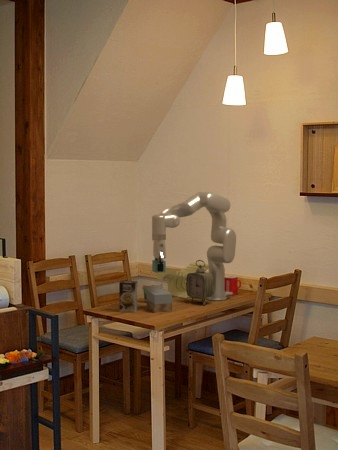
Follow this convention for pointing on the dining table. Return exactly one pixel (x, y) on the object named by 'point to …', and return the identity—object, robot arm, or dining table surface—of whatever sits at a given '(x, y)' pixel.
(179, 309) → the dining table surface
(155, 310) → the base block
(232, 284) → the mug
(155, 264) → the teal cube
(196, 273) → the tabletop clock
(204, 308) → the dining table surface
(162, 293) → the white box
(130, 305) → the coffee box
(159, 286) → the food container
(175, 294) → the slatted curved stool
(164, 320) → the dining table surface
